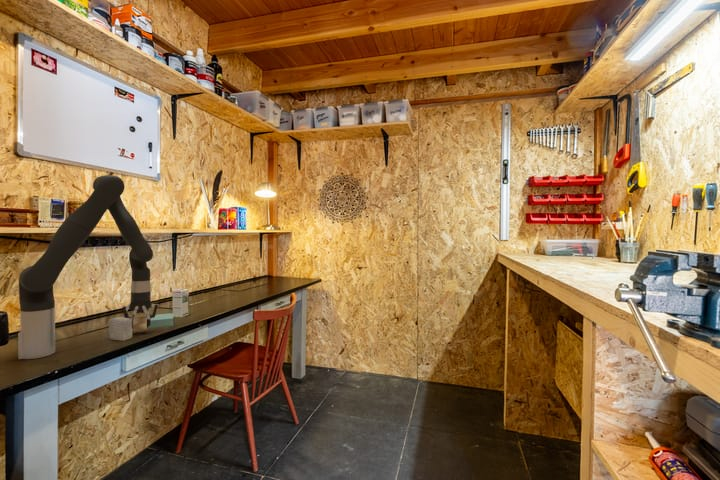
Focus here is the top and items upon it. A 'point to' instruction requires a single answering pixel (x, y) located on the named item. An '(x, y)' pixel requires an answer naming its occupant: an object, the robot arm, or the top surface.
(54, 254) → the robot arm
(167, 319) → the teal block
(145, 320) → the birch cube
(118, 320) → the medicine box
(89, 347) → the top surface
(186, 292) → the syrup box
